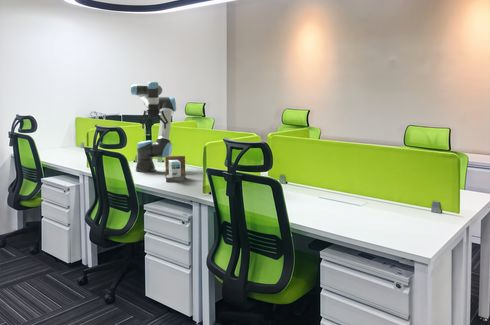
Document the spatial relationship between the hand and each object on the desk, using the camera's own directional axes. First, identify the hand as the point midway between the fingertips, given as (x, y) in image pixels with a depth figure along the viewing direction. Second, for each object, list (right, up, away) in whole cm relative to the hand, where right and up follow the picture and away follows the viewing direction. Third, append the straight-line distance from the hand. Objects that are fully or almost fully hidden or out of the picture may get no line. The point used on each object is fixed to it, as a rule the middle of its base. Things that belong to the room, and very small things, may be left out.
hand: (154, 133), depth 317 cm
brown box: (+16, -33, -7) cm, 38 cm away
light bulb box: (+16, -31, -8) cm, 36 cm away
